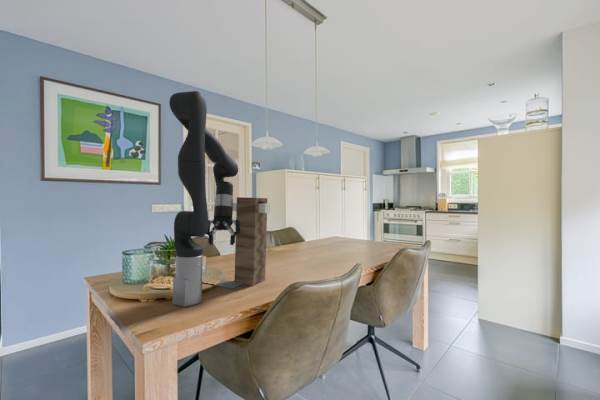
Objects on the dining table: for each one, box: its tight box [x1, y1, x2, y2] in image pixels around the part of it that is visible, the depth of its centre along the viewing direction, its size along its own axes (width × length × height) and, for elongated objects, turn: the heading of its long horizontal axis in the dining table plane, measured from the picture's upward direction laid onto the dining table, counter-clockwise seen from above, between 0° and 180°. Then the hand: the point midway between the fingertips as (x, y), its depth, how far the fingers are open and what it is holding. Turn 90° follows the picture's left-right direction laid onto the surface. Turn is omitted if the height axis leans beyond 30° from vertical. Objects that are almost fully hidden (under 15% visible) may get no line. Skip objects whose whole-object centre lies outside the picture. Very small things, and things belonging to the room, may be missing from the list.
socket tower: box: [234, 196, 268, 287], centre depth 128 cm, size 10×10×38 cm
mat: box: [214, 279, 243, 290], centre depth 126 cm, size 7×25×1 cm, turn 66°
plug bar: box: [233, 201, 271, 214], centre depth 129 cm, size 4×22×4 cm, turn 66°
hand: (221, 245), depth 115 cm, fingers open, 8 cm apart
